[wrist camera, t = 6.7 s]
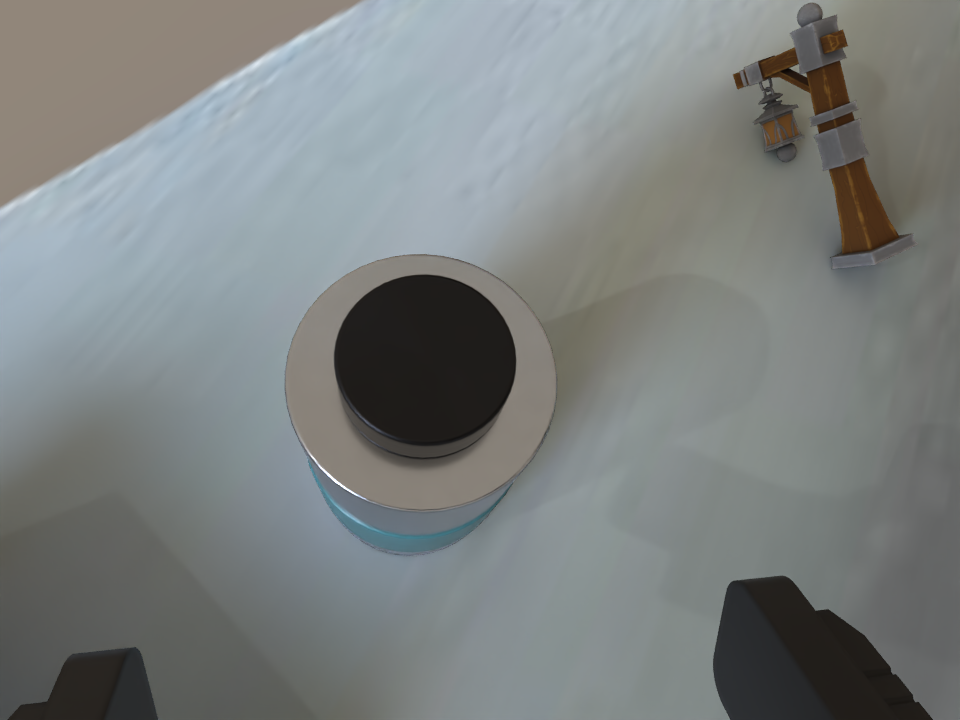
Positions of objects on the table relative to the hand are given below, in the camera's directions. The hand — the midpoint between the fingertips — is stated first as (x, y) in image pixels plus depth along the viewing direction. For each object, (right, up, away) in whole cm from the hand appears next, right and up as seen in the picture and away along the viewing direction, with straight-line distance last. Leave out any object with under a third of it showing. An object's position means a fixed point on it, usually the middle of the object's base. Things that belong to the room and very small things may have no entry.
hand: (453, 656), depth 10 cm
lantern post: (+11, +10, +15) cm, 21 cm away
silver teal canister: (-2, +1, +10) cm, 10 cm away
